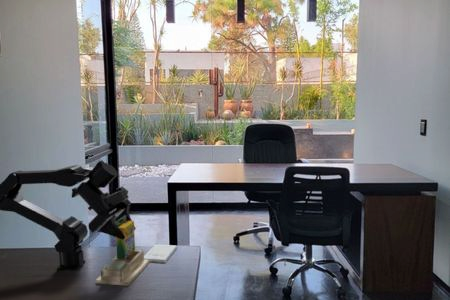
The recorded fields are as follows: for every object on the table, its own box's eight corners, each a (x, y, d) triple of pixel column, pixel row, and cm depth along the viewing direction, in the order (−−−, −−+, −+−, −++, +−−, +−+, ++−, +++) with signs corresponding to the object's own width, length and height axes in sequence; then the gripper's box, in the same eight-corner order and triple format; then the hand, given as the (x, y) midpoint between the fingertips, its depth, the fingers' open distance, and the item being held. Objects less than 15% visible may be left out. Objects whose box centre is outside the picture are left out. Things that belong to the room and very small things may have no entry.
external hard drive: (177, 249, 145) (165, 264, 133) (155, 248, 146) (141, 262, 134) (176, 245, 144) (165, 259, 132) (154, 244, 146) (141, 257, 134)
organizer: (96, 283, 119) (95, 266, 118) (120, 260, 134) (119, 246, 134) (128, 285, 117) (127, 269, 116) (149, 262, 132) (148, 248, 132)
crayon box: (125, 259, 124) (123, 222, 122) (116, 258, 124) (114, 221, 123) (135, 250, 131) (134, 215, 129) (126, 249, 131) (125, 214, 130)
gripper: (96, 187, 116) (134, 227, 115) (124, 174, 134) (157, 208, 134) (72, 213, 119) (109, 252, 118) (103, 196, 137) (135, 230, 136)
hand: (129, 234), depth 126 cm, fingers closed on crayon box, 7 cm apart
